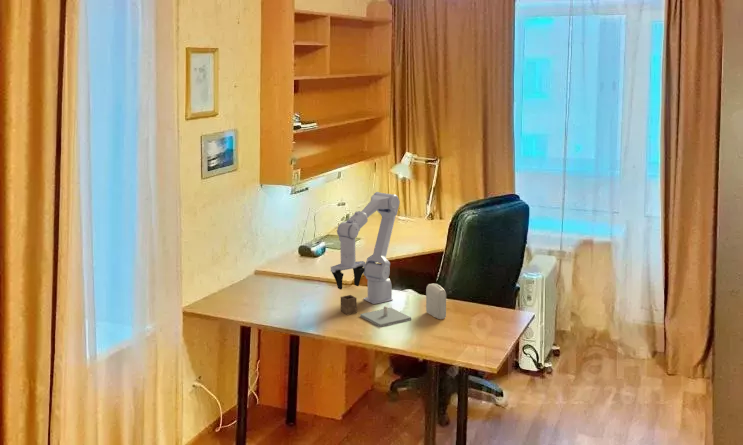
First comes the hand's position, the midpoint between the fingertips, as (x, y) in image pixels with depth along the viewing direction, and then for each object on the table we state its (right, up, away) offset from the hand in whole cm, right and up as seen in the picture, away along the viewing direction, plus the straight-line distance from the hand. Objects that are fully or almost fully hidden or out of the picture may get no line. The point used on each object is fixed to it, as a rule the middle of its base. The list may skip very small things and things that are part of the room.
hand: (348, 287), depth 327 cm
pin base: (+14, -12, -5) cm, 19 cm away
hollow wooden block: (0, -10, +2) cm, 10 cm away
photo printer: (+34, -11, -2) cm, 36 cm away
